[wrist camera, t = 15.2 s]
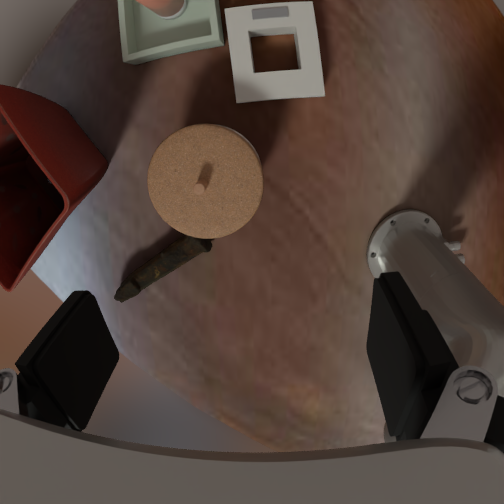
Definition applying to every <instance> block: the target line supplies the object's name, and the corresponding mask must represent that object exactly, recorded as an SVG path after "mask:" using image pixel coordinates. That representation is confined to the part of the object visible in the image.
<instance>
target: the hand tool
mask: <svg viewBox="0 0 504 504" xmlns="http://www.w3.org/2000/svg"><path fill="white" fill-rule="evenodd" d="M211 247H212V243H211V240H210V239H203V238H196V237H192V236H189V235H186V234H185V236H184V237H182V238H180V239H179V240H177V241H175V242H174V243H173V244H171V245H169V246H168V248H167V249H164V250H163V251H162V252H161V253H159V254H158V255H157V256H155V257H154V258H153V259H151V260H150V261H148V262H147V263H146V264H144V265H143V266H141V267H140V268H139V269H136V270H135V271H134V272H133V273H132V274H131V275H130V276H128V277H127V278H126V280H125V281H124V282H123V283H122V284H121V286H120V287H119V288H118V289H117V291H116V294H115V296H114V299H115V300H117V301H120V302H121V303H122V302H124V301H126V300H128V299H130V298H132V297H134V296H136V295H138V294H139V293H140V291H141V290H143V289H145V288H146V287H148V286H149V285H150V284H152V283H153V282H155V281H157V280H159V279H160V278H162V277H164V276H166V275H167V274H169V273H170V272H172V271H174V270H175V269H177V268H178V267H180V266H181V265H183V264H185V263H186V262H188V261H189V260H191V259H192V258H194V257H196V256H197V255H199V254H201V253H202V252H209V251H210V250H211Z"/></svg>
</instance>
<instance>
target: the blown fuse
mask: <svg viewBox="0 0 504 504" xmlns="http://www.w3.org/2000/svg"><path fill="white" fill-rule="evenodd" d="M136 1H137V2H139V3H140V4H142V5H143V6H145V7H147V8H148V9H150V10H151V11H153V12H154V13H155V14H157V15H158V16H159V17H161V18H162V19H165V20H173V19H176V18H178V17H180V16H181V15H182V14H183V13H184V12H185V11H186V9H187V0H136Z"/></svg>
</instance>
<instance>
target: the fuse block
mask: <svg viewBox="0 0 504 504" xmlns="http://www.w3.org/2000/svg"><path fill="white" fill-rule="evenodd" d="M225 17H226V25H227V33H228V40H229V48H230V56H231V64H232V71H233V79H234V87H235V95H236V103H246V102H255V101H265V100H276V99H289V98H305V97H322V96H325V92H324V82H323V73H322V65H321V57H320V49H319V41H318V34H317V27H316V21H315V14H314V8H313V2H312V1H308V2H283V3H269V4H258V5H249V6H241V7H233V8H226V9H225ZM280 34H294V39H295V46H296V54H297V62H298V70H284V71H272V72H261V73H255V70H254V62H253V54H252V47H251V39H250V37H257V36H267V35H280Z"/></svg>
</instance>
